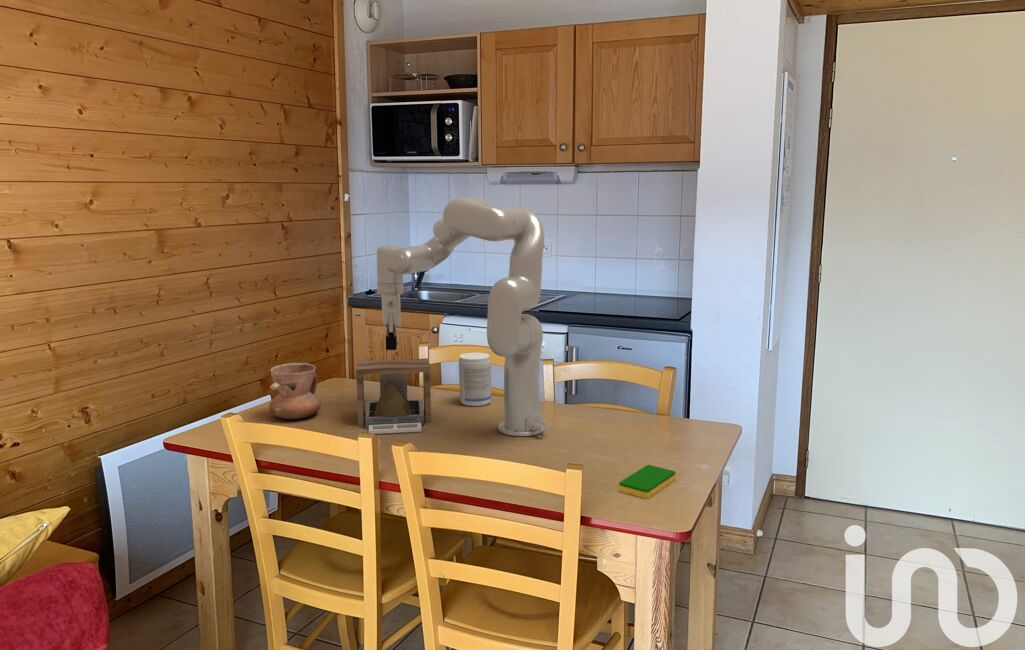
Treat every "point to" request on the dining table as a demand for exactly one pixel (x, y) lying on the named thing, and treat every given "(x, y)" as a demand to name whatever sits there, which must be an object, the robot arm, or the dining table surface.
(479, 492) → the dining table surface
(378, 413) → the rock
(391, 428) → the plate
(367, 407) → the slider
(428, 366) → the tunnel
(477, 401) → the supplement tub
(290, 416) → the ceramic jug
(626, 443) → the dining table surface
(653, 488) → the dish sponge
